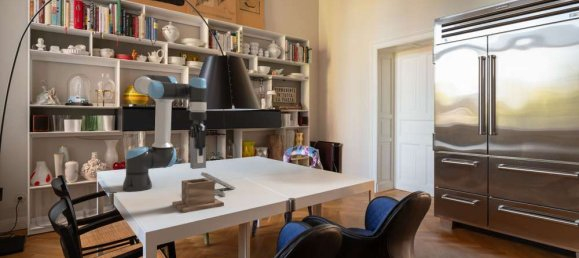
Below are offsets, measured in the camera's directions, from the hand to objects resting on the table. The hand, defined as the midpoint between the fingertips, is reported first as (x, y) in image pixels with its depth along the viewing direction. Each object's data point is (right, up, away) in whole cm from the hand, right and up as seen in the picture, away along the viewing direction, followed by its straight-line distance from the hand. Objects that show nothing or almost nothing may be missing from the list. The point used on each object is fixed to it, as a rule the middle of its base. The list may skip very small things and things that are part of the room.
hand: (198, 162), depth 150 cm
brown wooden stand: (0, -20, +1) cm, 20 cm away
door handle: (+6, -20, +27) cm, 34 cm away
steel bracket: (0, -3, 0) cm, 3 cm away
